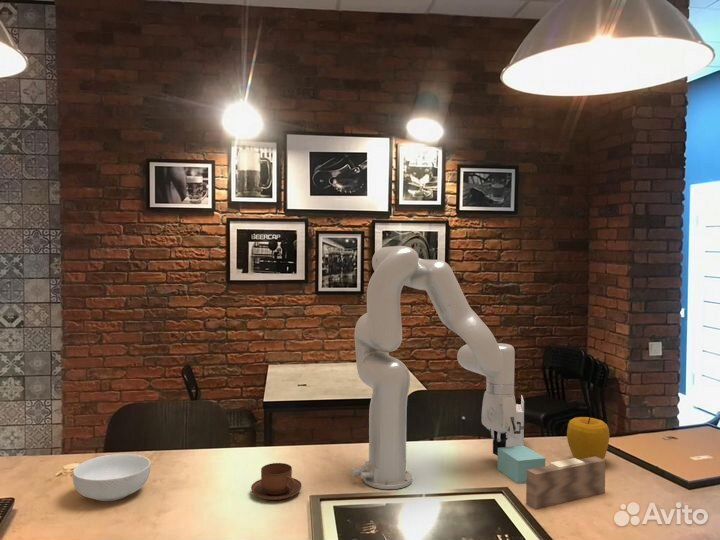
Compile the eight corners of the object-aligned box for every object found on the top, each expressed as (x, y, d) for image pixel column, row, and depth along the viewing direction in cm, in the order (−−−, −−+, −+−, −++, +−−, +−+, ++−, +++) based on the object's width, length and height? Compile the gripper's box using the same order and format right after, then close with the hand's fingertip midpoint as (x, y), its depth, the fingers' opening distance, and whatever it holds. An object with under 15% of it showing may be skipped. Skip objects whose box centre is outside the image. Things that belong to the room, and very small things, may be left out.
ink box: (505, 440, 177) (505, 393, 176) (521, 441, 176) (522, 394, 175) (506, 449, 168) (507, 400, 168) (523, 450, 167) (524, 401, 167)
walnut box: (535, 509, 128) (535, 471, 128) (525, 503, 131) (526, 467, 131) (605, 492, 138) (605, 457, 137) (594, 488, 140) (595, 453, 140)
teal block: (517, 484, 143) (518, 460, 143) (497, 469, 153) (497, 447, 152) (545, 481, 145) (545, 458, 145) (523, 467, 155) (523, 445, 155)
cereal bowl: (73, 516, 123) (72, 484, 123) (72, 488, 138) (72, 459, 138) (155, 501, 131) (155, 471, 131) (146, 476, 146) (146, 449, 146)
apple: (565, 466, 155) (566, 420, 154) (567, 453, 165) (568, 410, 164) (609, 472, 151) (610, 424, 150) (608, 459, 161) (609, 414, 160)
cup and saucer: (309, 487, 140) (309, 463, 140) (287, 508, 128) (287, 481, 128) (266, 481, 144) (266, 457, 144) (241, 500, 132) (241, 474, 132)
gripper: (472, 384, 161) (471, 447, 162) (507, 396, 148) (506, 465, 148) (493, 381, 165) (492, 444, 165) (529, 393, 151) (528, 461, 152)
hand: (499, 453), depth 157 cm, fingers closed
